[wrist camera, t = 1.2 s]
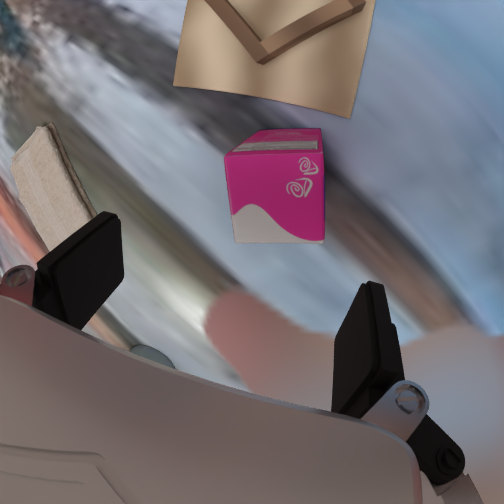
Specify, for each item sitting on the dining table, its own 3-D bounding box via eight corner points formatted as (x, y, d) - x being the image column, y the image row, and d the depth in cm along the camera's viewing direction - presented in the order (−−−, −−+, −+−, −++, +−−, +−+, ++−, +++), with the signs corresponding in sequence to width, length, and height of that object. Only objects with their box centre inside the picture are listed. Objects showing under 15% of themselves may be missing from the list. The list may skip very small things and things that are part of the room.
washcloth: (54, 115, 30) (37, 120, 27) (113, 233, 37) (100, 244, 34) (17, 158, 35) (2, 164, 32) (68, 256, 41) (56, 266, 39)
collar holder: (381, -50, 14) (389, -67, 11) (348, 117, 24) (352, 122, 21) (210, -70, 16) (194, -86, 12) (177, 85, 25) (157, 86, 22)
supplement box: (325, 188, 28) (324, 248, 18) (263, 188, 29) (229, 246, 20) (323, 126, 25) (323, 151, 15) (257, 128, 26) (216, 155, 17)
